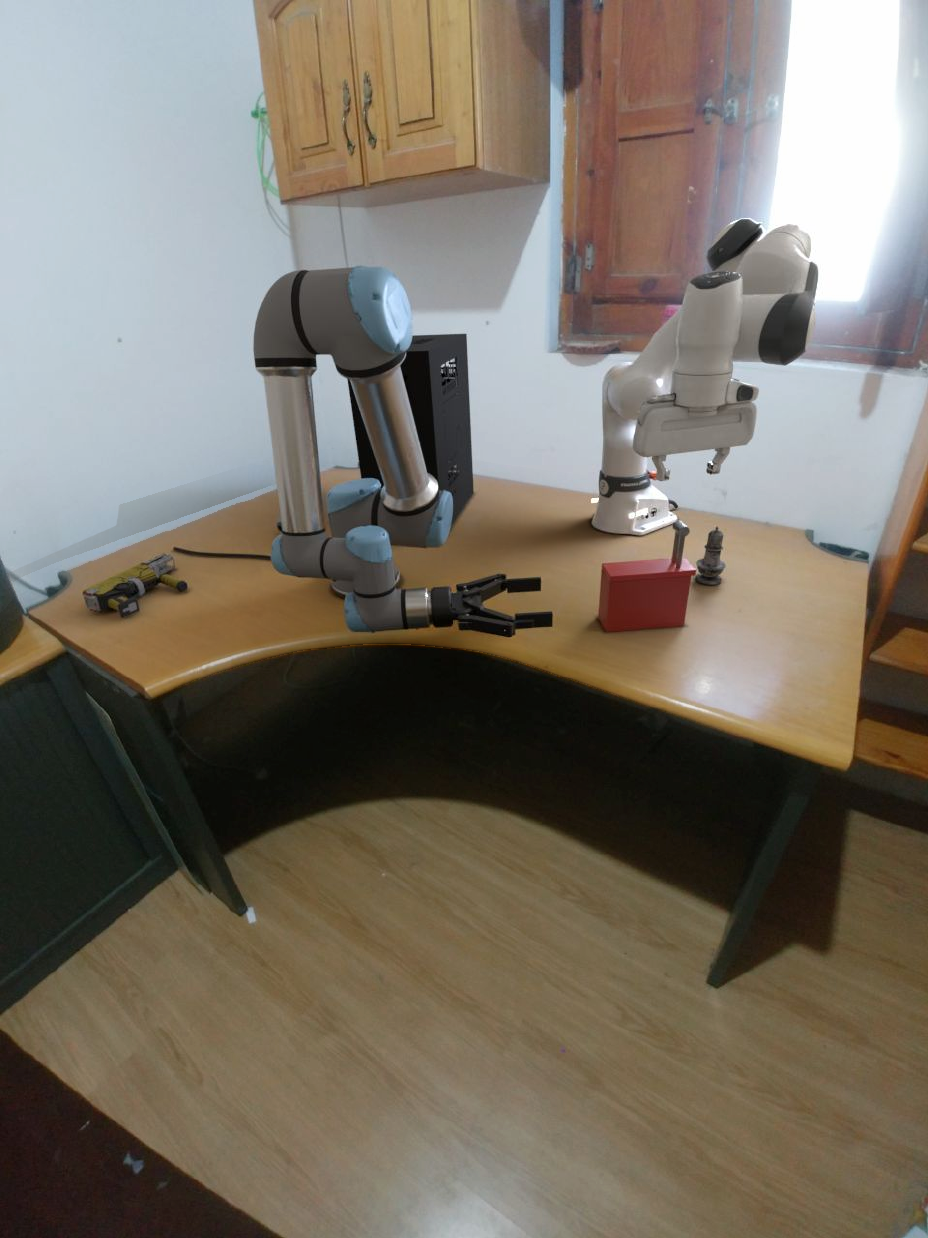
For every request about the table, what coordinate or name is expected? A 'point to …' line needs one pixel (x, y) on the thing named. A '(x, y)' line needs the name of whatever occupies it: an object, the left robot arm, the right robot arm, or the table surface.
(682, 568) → the lid
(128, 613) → the toy gun
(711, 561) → the grey chess bishop
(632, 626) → the chest
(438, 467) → the black tall block
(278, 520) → the eyeball
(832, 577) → the table surface
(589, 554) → the table surface
